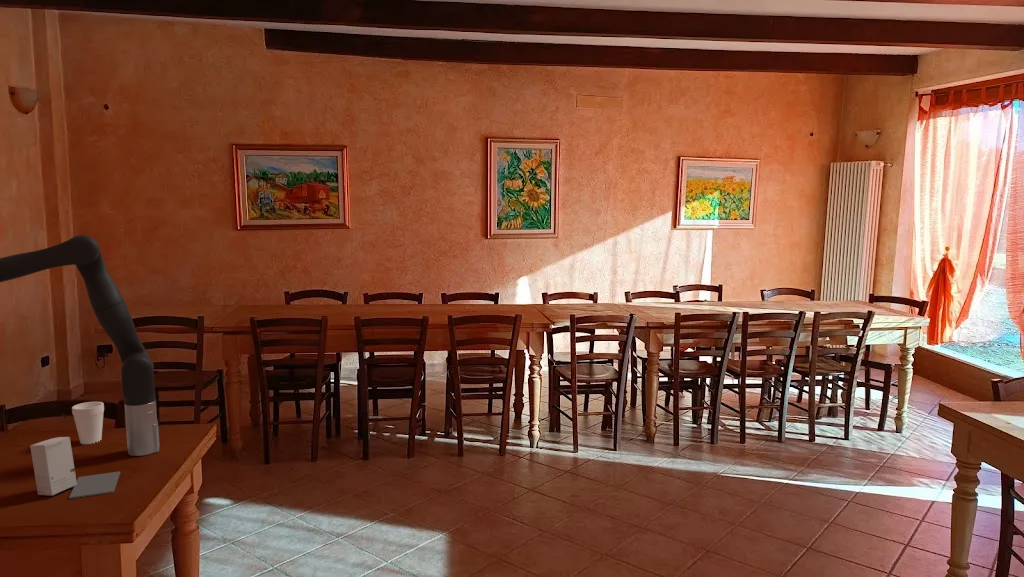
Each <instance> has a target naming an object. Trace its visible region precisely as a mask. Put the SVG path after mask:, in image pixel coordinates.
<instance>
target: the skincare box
mask: <svg viewBox="0 0 1024 577" xmlns="http://www.w3.org/2000/svg"><path fill="white" fill-rule="evenodd" d="M71 444H72V443H71V438H70V436H56V437H53V438H50V439H46V440H43V441H40V442H37V443H34V444H31V445H30V446H29V448H30V453H31V458H32V459H31V460H32V465H33V470H34V478H35V485H36V492H37V495H38V496H51V497H52V496H55V495H58V494H59V493H62V492H64V491H65V490H67V489H71V488H74V486H75V485H77V476H76V468H75V464H74V463H75V462H74V458H73V457H74V456H73V450H72V445H71Z"/></svg>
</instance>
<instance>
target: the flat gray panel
mask: <svg viewBox="0 0 1024 577" xmlns="http://www.w3.org/2000/svg"><path fill="white" fill-rule="evenodd" d="M120 475H121V471H115V472H113V471H112V472H105V473H98V474H92V475H91V474H90V475H84V476H79V477H78V478H77V479H76V481H77V485H75V486H73V487H72V488H73V489H71V492H70V494H69V496H68V500H73V498H74V499H79V498H80V497H81V498H86V497H87V496H88V497H93V496H100V495H107V494H113V493H114V492H115V490H116V487H117V484H118V481H119V477H120Z"/></svg>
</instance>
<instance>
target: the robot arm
mask: <svg viewBox="0 0 1024 577" xmlns="http://www.w3.org/2000/svg"><path fill="white" fill-rule="evenodd" d="M72 265H75V266H76V268H77V271H79V274H80V275H81V278H82V279H83V282H84V284H85V288H86V291H87V296H88V299H89V303H90V305H91V309H92V310H93V313H94V315H95V317H96V319H97V321H98V323H99V325H100V326H101V327H102V329H103V330H104V332H105V333H106V334H107V336H108V338H109V339H110V340H111V341H112V343H113V345H114V346H115V348H116V350H117V353H118V355H119V359H120V361H121V365H122V366H121V372H120V373H121V375H120V376H121V386H122V395H123V402H124V404H123V405H124V417H125V429H126V443H127V454H128V455H129V456H133V457H134V456H135V457H138V456H140V457H141V456H147V455H151V454H153V453H158V452H159V451H160V436H159V435H160V431H159V420H158V417H157V399H156V390H155V379H154V378H155V377H154V375H155V374H154V367H155V365H154V361H153V359H152V358H151V356H150V355H149V352H148V351H147V350H146V348H145V346H144V344H143V342H142V341H141V339H140V337H139V334H138V332H137V329H136V326H135V324H134V320H133V318H132V315H131V313H130V310H129V308H128V306H127V303H126V302H125V299H124V297H123V296H122V293H121V291H120V290H119V288H118V286H117V284H116V283H115V281H114V280H113V278H112V277H111V275H110V274H109V271H108V268H107V265H106V264H105V261H104V257H103V254H102V251H101V248H100V243H99V242H98V241H97V239H95V238H94V237H92V236H90V235H87V234H78V235H74V236H72V237H71V238H69V239H68V240H66V241H63V242H60V243H59V244H55V245H53V246H50V247H46V248H43V249H38V250H33V251H29V252H21V253H17V254H11V255H7V256H3V257H0V283H3V282H7V281H11V280H16V279H19V278H22V277H26V276H30V275H33V274H35V273H38V272H39V273H40V272H42V271H45V270H49V269H53V268H59V267H65V266H72Z"/></svg>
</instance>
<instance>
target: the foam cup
mask: <svg viewBox="0 0 1024 577" xmlns="http://www.w3.org/2000/svg"><path fill="white" fill-rule="evenodd" d="M104 404H105V403H104V402H103V401H87V402H86V401H85V402H82V403H77V404H75V405H73V406H72V407H71V413H72V415H73V419H74V423H75V426H76V431H77V435H78V438H79V443H80V444H81V445H93V444H96V443H95V442H97V443H99V442H101V441H102V437H103V423H104V411H105V405H104ZM100 440H101V441H100ZM98 441H99V442H98ZM92 443H93V444H92Z"/></svg>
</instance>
